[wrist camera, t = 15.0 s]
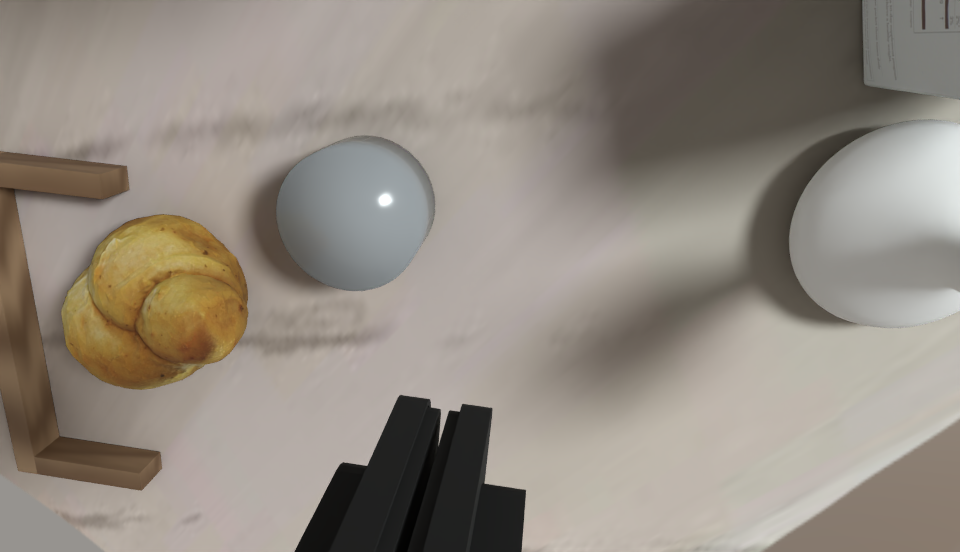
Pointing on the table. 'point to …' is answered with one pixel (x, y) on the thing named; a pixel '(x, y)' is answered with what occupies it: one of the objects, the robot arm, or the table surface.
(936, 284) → the flower in vase
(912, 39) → the supplement box
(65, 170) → the brown angled bar
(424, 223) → the grey glossy rounded piece
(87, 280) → the bread roll
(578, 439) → the table surface
